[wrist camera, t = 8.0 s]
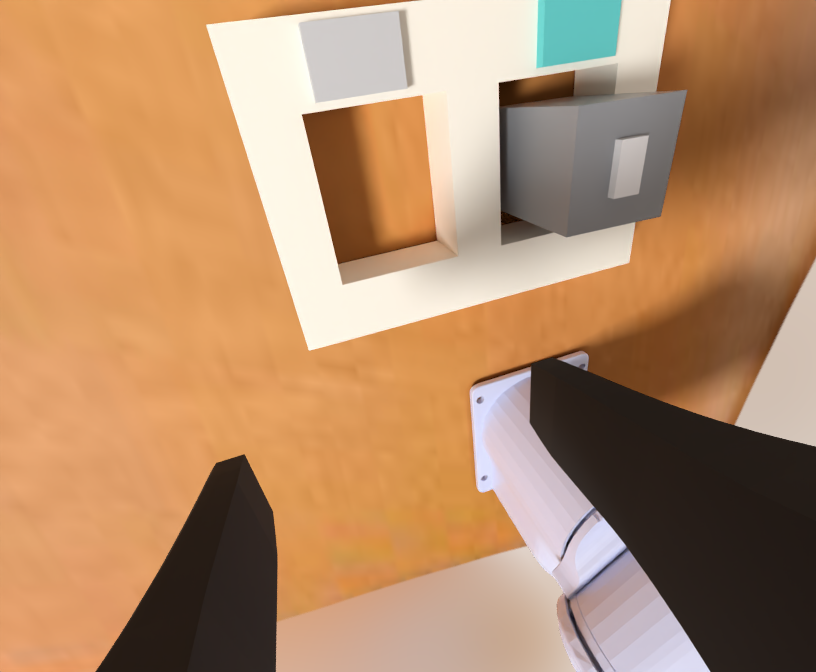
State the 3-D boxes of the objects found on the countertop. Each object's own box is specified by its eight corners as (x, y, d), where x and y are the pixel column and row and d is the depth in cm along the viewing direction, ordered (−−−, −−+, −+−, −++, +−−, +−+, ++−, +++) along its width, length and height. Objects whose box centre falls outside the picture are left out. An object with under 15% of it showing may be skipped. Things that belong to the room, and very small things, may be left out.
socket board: (594, 248, 22) (635, 265, 20) (304, 324, 19) (309, 355, 17) (622, -11, 16) (685, -33, 14) (215, 38, 13) (204, 22, 11)
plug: (560, 190, 20) (667, 218, 15) (486, 205, 19) (572, 239, 14) (568, 96, 18) (695, 89, 13) (485, 108, 17) (585, 105, 12)
